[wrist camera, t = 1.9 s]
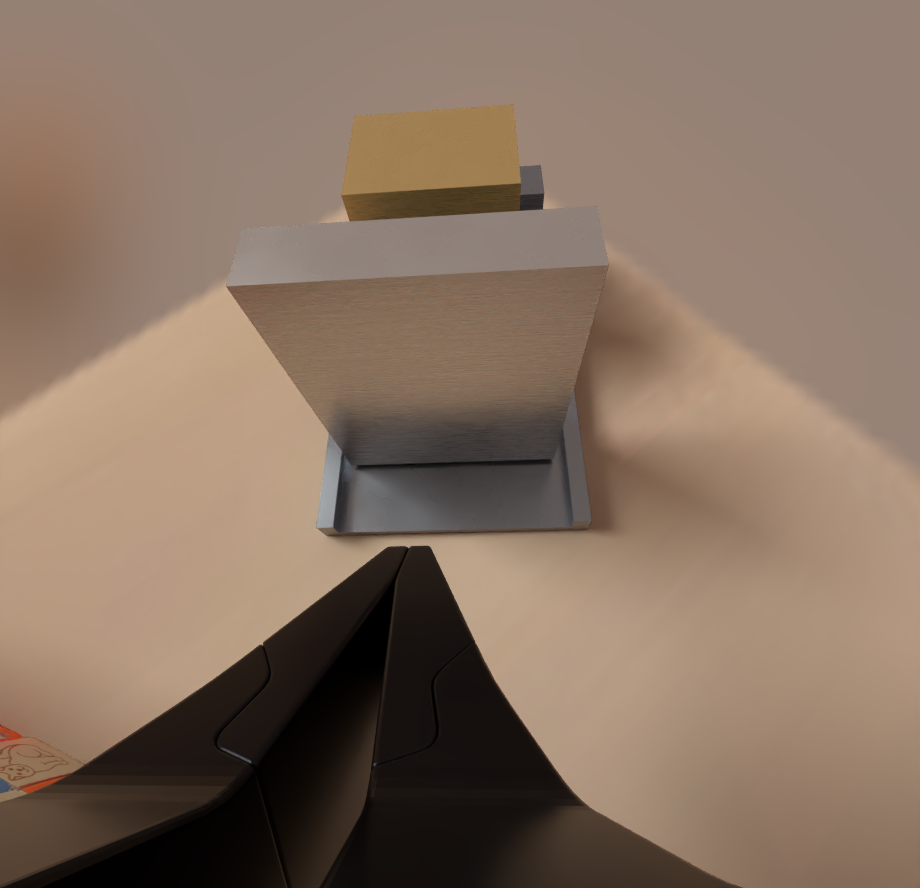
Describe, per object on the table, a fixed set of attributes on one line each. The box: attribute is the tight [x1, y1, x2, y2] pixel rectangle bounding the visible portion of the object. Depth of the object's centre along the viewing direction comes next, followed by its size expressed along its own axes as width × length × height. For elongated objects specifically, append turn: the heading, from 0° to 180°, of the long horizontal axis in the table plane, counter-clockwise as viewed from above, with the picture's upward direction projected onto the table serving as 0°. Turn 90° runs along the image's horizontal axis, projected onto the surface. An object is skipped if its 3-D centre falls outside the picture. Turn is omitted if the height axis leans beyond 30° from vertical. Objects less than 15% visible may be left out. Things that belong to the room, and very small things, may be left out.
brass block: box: [341, 104, 521, 222], centre depth 20 cm, size 4×6×9 cm
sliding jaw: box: [226, 206, 609, 465], centre depth 16 cm, size 2×9×11 cm, turn 90°
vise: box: [316, 165, 592, 535], centre depth 21 cm, size 16×11×5 cm
